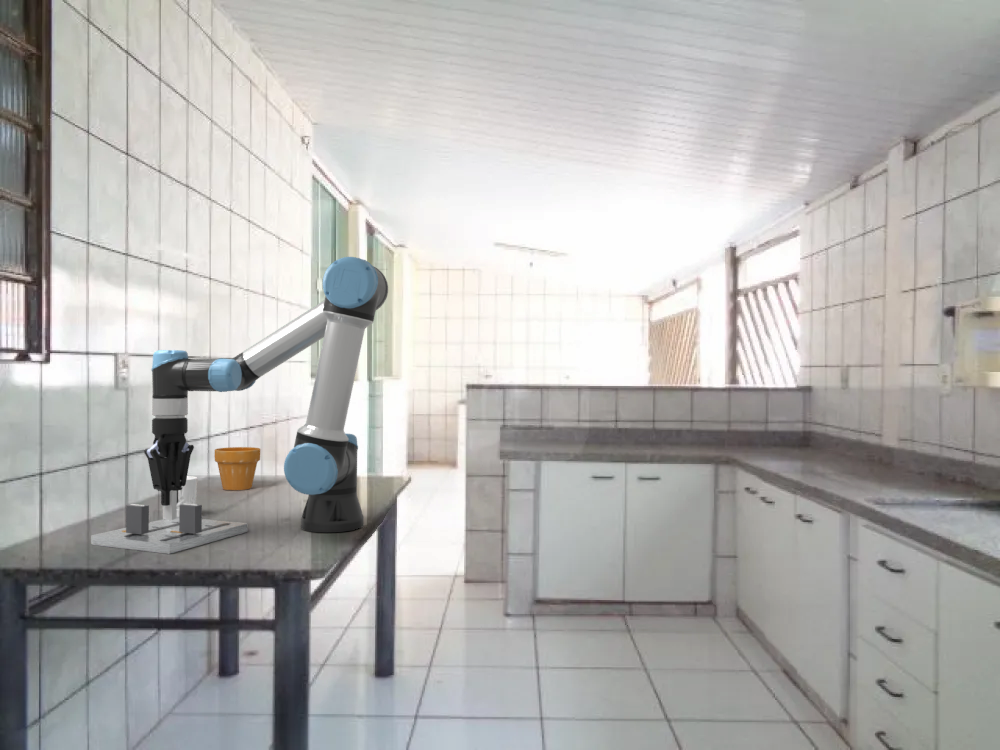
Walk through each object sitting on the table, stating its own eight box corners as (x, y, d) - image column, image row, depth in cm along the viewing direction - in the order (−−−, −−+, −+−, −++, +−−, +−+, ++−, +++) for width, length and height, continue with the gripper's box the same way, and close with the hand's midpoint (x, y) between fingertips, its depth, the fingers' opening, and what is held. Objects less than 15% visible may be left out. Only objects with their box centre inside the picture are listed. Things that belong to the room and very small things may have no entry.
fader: (201, 532, 165) (201, 504, 165) (194, 533, 163) (195, 505, 163) (186, 530, 166) (186, 502, 166) (179, 532, 164) (179, 504, 164)
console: (247, 531, 176) (247, 522, 176) (169, 554, 154) (169, 543, 154) (175, 524, 184) (175, 515, 184) (91, 544, 162) (91, 534, 162)
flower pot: (226, 485, 251) (227, 446, 251) (267, 486, 249) (267, 447, 249) (205, 491, 237) (206, 450, 237) (248, 492, 235) (249, 451, 235)
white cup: (184, 519, 190) (185, 480, 190) (157, 518, 192) (158, 479, 192) (203, 514, 198) (203, 476, 198) (176, 512, 200) (177, 475, 200)
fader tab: (148, 532, 164) (148, 504, 164) (141, 534, 162) (141, 506, 162) (133, 531, 165) (133, 503, 165) (126, 532, 163) (126, 504, 163)
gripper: (178, 415, 179) (178, 513, 179) (134, 418, 167) (134, 523, 167) (203, 415, 176) (203, 515, 176) (160, 418, 164) (160, 525, 164)
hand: (169, 518), depth 172 cm, fingers closed
